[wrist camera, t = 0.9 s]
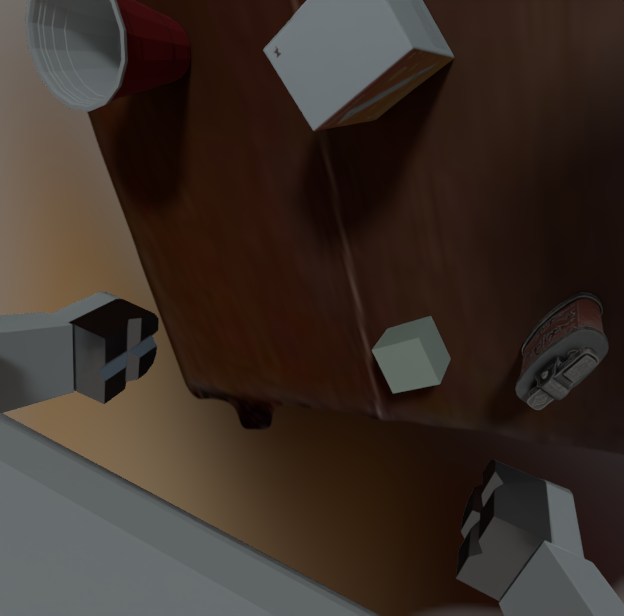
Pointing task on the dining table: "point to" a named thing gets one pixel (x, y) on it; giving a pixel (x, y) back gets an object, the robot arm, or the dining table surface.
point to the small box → (356, 57)
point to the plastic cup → (103, 49)
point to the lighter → (562, 350)
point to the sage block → (412, 355)
